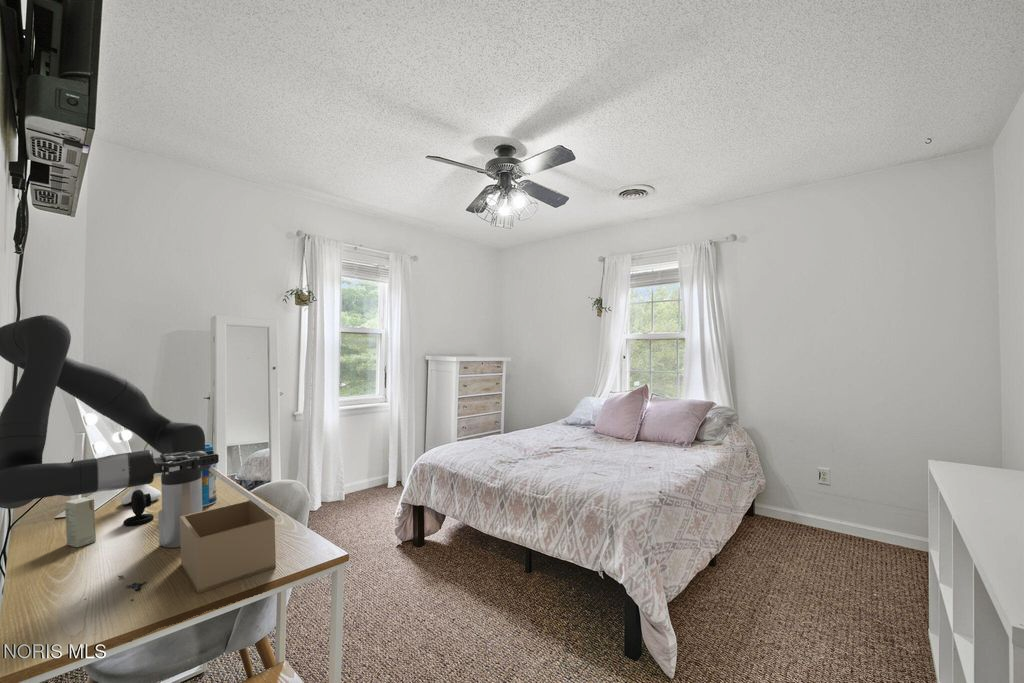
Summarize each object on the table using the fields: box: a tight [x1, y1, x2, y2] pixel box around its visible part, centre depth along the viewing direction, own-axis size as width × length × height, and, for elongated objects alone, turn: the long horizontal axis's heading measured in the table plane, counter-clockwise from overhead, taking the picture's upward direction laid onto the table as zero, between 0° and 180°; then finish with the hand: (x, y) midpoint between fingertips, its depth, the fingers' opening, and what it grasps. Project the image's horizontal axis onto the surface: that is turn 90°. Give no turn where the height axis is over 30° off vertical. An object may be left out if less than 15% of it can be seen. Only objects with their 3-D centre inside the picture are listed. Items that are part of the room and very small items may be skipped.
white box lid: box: [188, 451, 280, 519], centre depth 115 cm, size 23×21×4 cm
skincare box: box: [64, 497, 97, 548], centre depth 129 cm, size 6×4×12 cm
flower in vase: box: [120, 442, 162, 505], centre depth 163 cm, size 13×11×25 cm
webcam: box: [122, 490, 155, 527], centre depth 144 cm, size 8×8×10 cm
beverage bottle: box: [201, 444, 218, 508], centre depth 159 cm, size 8×8×20 cm
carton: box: [180, 499, 277, 594], centre depth 114 cm, size 16×20×12 cm
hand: (215, 456), depth 113 cm, fingers closed on white box lid, 4 cm apart
